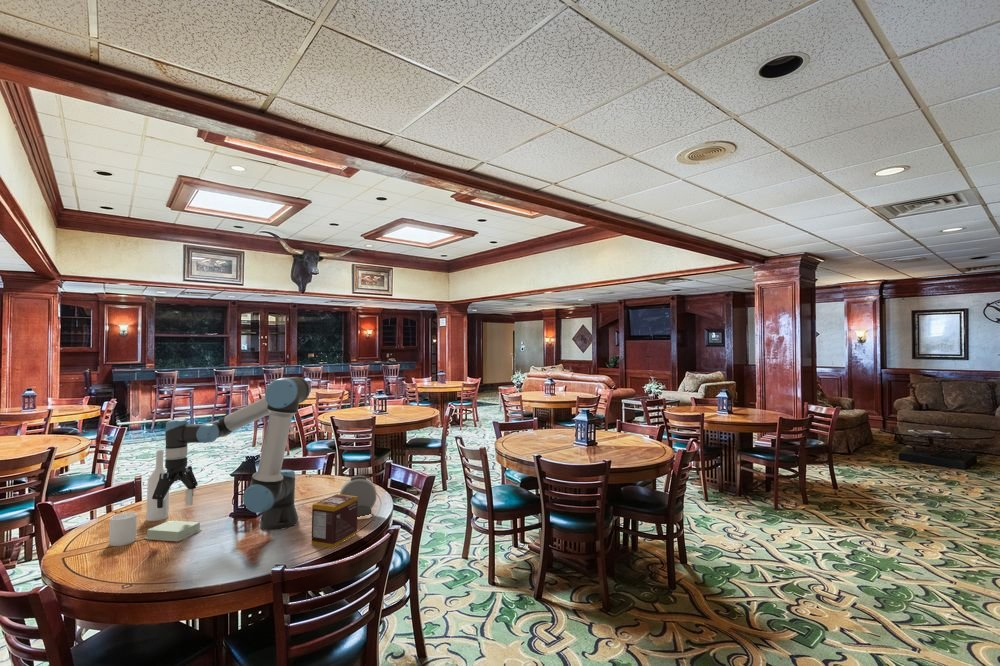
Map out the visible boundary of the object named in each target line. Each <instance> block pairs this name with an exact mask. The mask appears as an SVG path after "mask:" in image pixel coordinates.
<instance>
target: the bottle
mask: <svg viewBox="0 0 1000 666" xmlns="http://www.w3.org/2000/svg"><path fill="white" fill-rule="evenodd" d="M155 459H156V460H155V468H154V470H153V471H152V473H151V474H150V476H149V477H148V480H147V491H146V492H147V493H146V494H147V495H146V513H145V514H146V517H145V519H146V521H147V522H157V521H162V520H165V519H167V518H168V517H169V509H170V508H169V506H170V489H169V490H168V492H167V494H166V496H165V497H164V499H166V516H158V508H157V500H155V499H152V497H153V494H154V491H155V489H156V486H157V484H158V481H159V476H160V473H167V470H165V467H164V450H163V449H157V450H156V457H155ZM169 481H170V480H169Z"/></svg>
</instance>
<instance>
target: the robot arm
mask: <svg viewBox="0 0 1000 666" xmlns="http://www.w3.org/2000/svg"><path fill="white" fill-rule="evenodd" d="M310 393H311V387H310V384H309V382H308V381H307V380H306V379H304V378H303V377H299V376H292V377H280V378H277V379H274V380H273V381H271V382H270V383H269V384H268V385H267V387H266V389H265V392H264V397H262V398H260V399H258V400H256V401H254V402H252V403H250V404H248V405H245V406H244V407H242V408H239V409H238V410H235V411H233V412H231V413H230V414H227V415H226V416H225V415H224V416H223V417H221V418H219V419H216V420H214V421H213V420H211V421H210V422H209V421H208V422H204V423H195V424H192V423H191V424H190V423H188V420H187V419H186V418H178V419H170V420H168V421H167V422H166V423H165V431H164V433H165V454H164V455H165V456H164V457H165V458H166V459H165V461H164V469H166V472H167V473H160V476H159V481H158V484H157V486H156V489H155V491H154V494H153V497H152V499H155V500H157V508H158V516H166V499H164V497H165V496H166V494H167V492H168V490H169V491H170V488H171V486H172V485H173V484H174V483H175V482H178V481H181V483H182V484H183V485H184V486H185V487H186V489H185V506H193V505H194V504H193V503H194V502H193V501H194V498H193V497H194V490H195V489H196V488H197V486H198V484H199V483H198V482H197V479H196V476H195V474H194V472H193V466H192V465H188V457H187V456H188V444H192V443H193V444H194V443H200V444H201V443H203V444H208V443H213V442H215V441H216V440H218V439H219V438H224V437H226V436H229V435H230V434H231V433H233V432H235V431H237V430H238V429H242V428H243V427H245V426H248V425H249V424H252V423H253V422H256V421H258V420H260V419H262V418H264V417H266V416H269V417H268V420H267V426H266V431H265V434H264V435H265V436H264V439H263V440H264V441H263V444H262V449H261V452H260V453H261V454H260V459H259V462H258V468H257V471H256V472H254V473H253V474H252V476H251V480H250V485H249V486H247V487H246V488H245V490H244V492H243V494H242V495H243V496H242V501H243V504H244V506H245V507H246V509H247V510H249V511H250V512H252V513H256V514H260V513H262V514H261V518H260V520H259V528H260V529H262V530H266V531H279V530H283V529H289V528H291V526H292V527H294V526H296V525H297V524H298V523H299V515H298V512H297V508H296V506H295V496H296V494H295V493H296V487H295V486H296V472H295V471H294V470H292V469H282V467H283V462H284V458H285V453H286V449H287V444H288V438H289V433H290V429H291V425H292V420H293V417H294V416H295V415H296V414H297V413H298V410H299V406H300V404H301V403H304V402H305V401H306V400H307V399H308V398H309V396H310ZM169 480H170V481H169ZM295 524H296V525H295Z"/></svg>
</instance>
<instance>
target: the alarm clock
mask: <svg viewBox="0 0 1000 666" xmlns="http://www.w3.org/2000/svg"><path fill="white" fill-rule="evenodd" d="M339 494H342V495H350V496H358V507H357V517H360V516H365V515H369V514H371V513H372V509H373V507H374V506H375V504H376V501H377V496H378V495H377V489H376V486H375V484H374V483H373V481H372V480H370V479H369V478H368V477H366V475H360V474H359V475H354V476H351V477H350V479H348V480H347V481H346V482H344V484H343V485H342V486H341V488H340V491H339ZM372 514H373V513H372Z"/></svg>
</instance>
